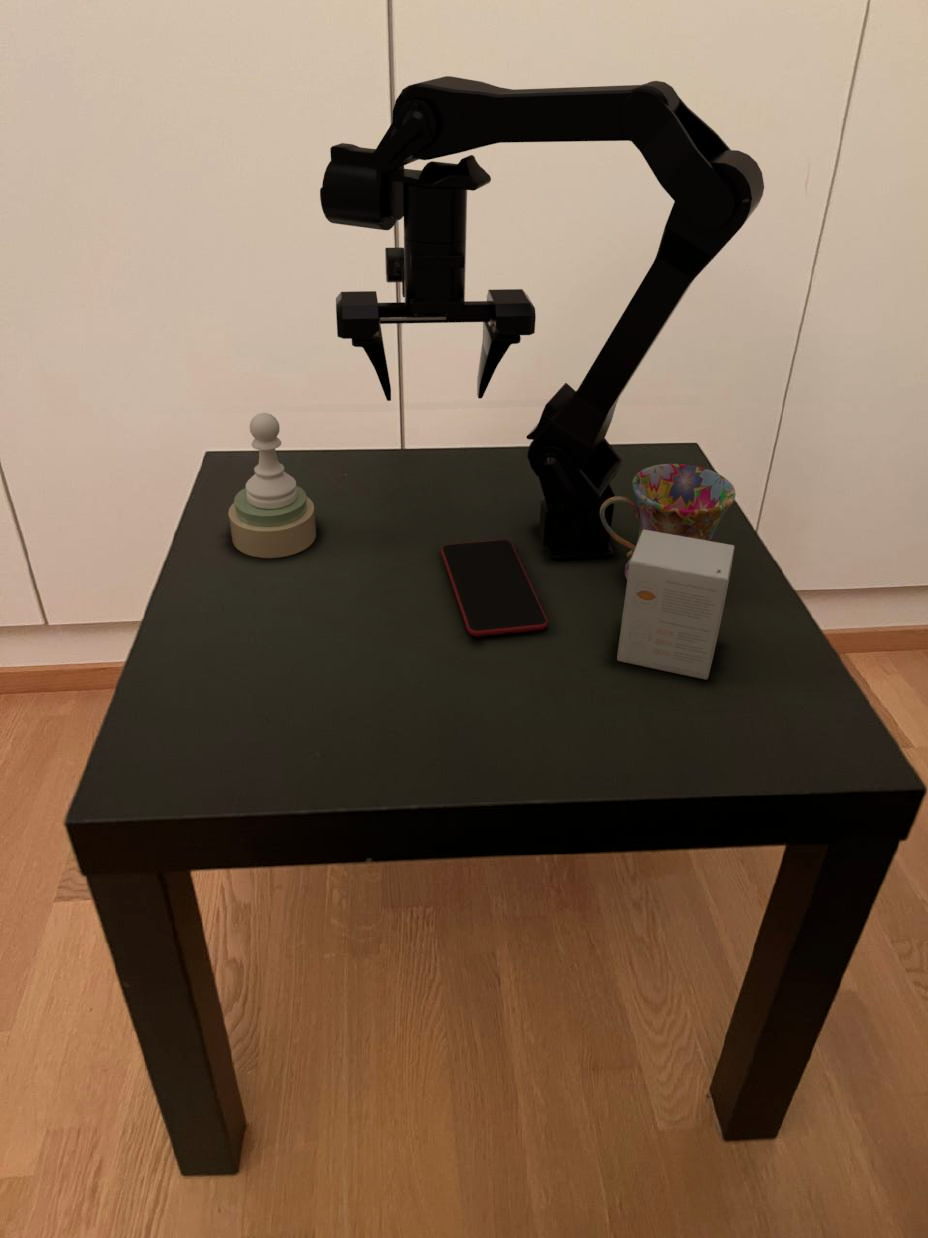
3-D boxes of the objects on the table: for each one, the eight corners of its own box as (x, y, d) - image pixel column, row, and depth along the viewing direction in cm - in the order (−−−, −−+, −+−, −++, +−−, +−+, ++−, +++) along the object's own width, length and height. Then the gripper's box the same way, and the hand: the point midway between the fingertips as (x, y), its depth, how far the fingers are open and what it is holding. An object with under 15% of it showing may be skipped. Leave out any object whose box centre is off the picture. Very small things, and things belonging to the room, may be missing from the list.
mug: (704, 558, 96) (723, 463, 90) (724, 611, 89) (746, 512, 83) (587, 556, 96) (597, 461, 90) (596, 608, 89) (609, 509, 83)
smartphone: (469, 633, 84) (439, 544, 96) (469, 641, 84) (439, 552, 96) (550, 624, 85) (510, 538, 97) (549, 632, 86) (510, 545, 97)
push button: (316, 514, 102) (313, 476, 100) (316, 556, 95) (312, 517, 93) (235, 517, 101) (230, 479, 99) (228, 560, 94) (223, 521, 92)
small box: (715, 645, 85) (738, 544, 78) (707, 682, 80) (730, 579, 74) (627, 626, 87) (642, 526, 81) (614, 662, 82) (629, 559, 76)
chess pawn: (276, 481, 99) (268, 399, 93) (307, 497, 96) (300, 414, 90) (237, 497, 95) (225, 414, 90) (267, 515, 93) (257, 430, 87)
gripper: (521, 214, 94) (512, 366, 103) (331, 215, 92) (340, 370, 101) (541, 244, 85) (530, 407, 94) (332, 246, 83) (341, 413, 92)
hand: (434, 398), depth 96 cm, fingers open, 9 cm apart
